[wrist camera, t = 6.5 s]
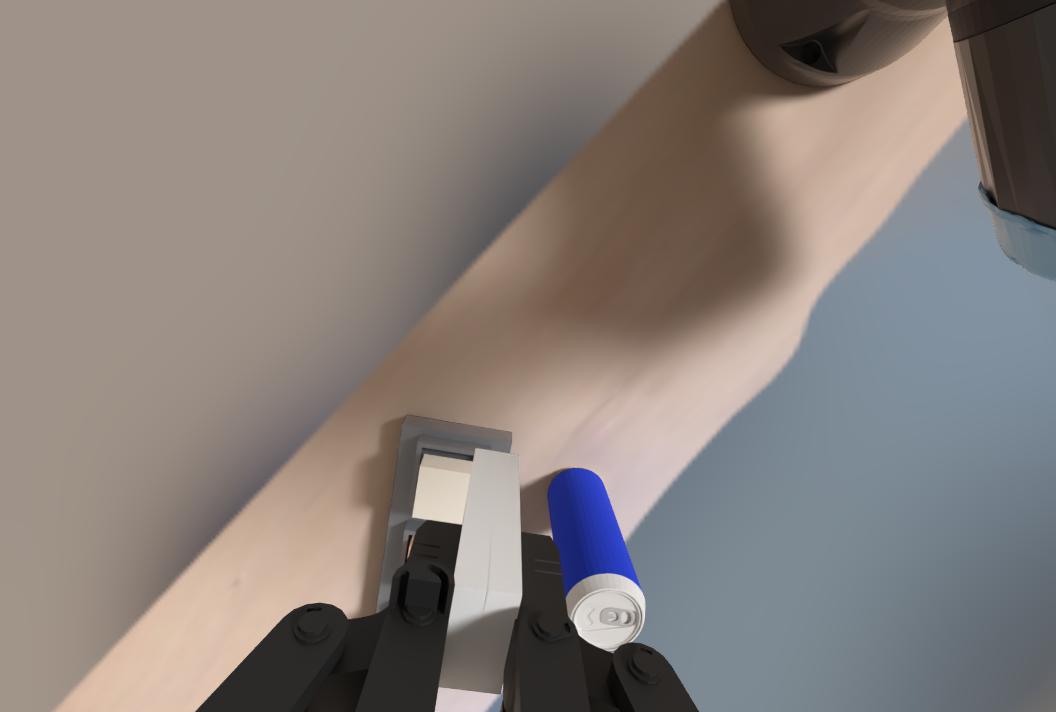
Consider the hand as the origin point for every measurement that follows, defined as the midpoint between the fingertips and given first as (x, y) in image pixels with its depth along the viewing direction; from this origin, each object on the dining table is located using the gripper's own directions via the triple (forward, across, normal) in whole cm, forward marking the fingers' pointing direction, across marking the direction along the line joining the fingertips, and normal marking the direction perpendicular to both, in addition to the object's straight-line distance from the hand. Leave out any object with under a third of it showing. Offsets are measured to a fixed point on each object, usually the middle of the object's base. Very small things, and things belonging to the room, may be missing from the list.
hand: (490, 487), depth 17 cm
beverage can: (+24, +9, -13) cm, 29 cm away
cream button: (+20, -2, -12) cm, 24 cm away
